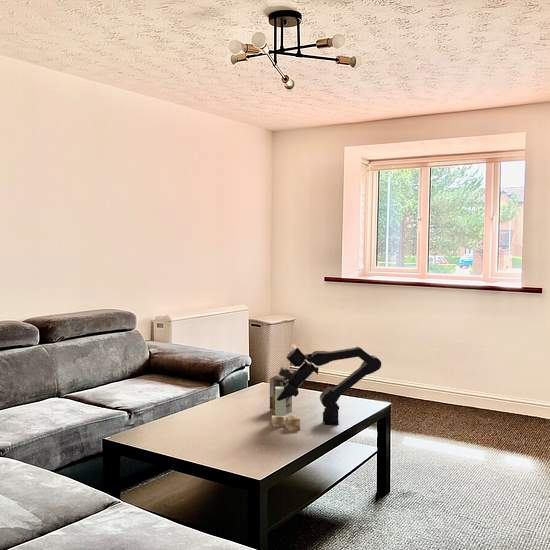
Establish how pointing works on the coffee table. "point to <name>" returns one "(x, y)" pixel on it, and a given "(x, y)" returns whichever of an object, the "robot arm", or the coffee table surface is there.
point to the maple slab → (279, 420)
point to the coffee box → (274, 382)
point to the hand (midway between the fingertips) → (277, 398)
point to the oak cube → (293, 422)
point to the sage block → (279, 403)
